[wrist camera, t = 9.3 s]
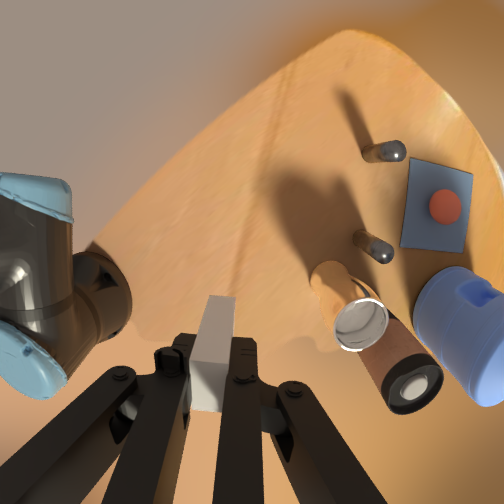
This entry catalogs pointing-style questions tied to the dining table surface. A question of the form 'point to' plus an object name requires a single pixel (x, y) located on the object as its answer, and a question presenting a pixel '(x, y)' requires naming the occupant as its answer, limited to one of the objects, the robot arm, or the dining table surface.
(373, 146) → the post
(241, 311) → the dining table surface
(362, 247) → the post
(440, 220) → the ball
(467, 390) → the water jug
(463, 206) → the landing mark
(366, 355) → the travel mug
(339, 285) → the beer glass
